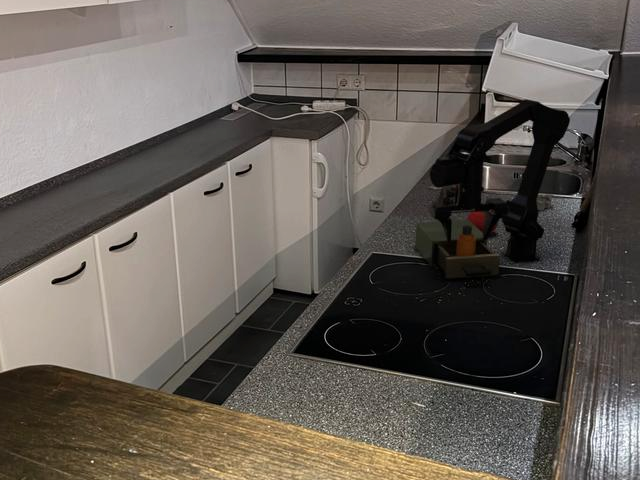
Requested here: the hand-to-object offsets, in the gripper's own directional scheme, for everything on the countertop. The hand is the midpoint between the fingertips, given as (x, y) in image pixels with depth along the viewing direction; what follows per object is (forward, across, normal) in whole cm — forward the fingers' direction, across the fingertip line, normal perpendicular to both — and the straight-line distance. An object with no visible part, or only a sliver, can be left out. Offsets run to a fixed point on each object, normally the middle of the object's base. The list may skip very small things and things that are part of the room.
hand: (466, 241), depth 191 cm
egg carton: (+9, -39, -48) cm, 62 cm away
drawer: (+7, 0, +1) cm, 7 cm away
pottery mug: (+8, -16, -57) cm, 59 cm away
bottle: (+6, 0, 0) cm, 6 cm away
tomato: (+8, -14, -26) cm, 30 cm away
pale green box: (+8, 0, -12) cm, 14 cm away
